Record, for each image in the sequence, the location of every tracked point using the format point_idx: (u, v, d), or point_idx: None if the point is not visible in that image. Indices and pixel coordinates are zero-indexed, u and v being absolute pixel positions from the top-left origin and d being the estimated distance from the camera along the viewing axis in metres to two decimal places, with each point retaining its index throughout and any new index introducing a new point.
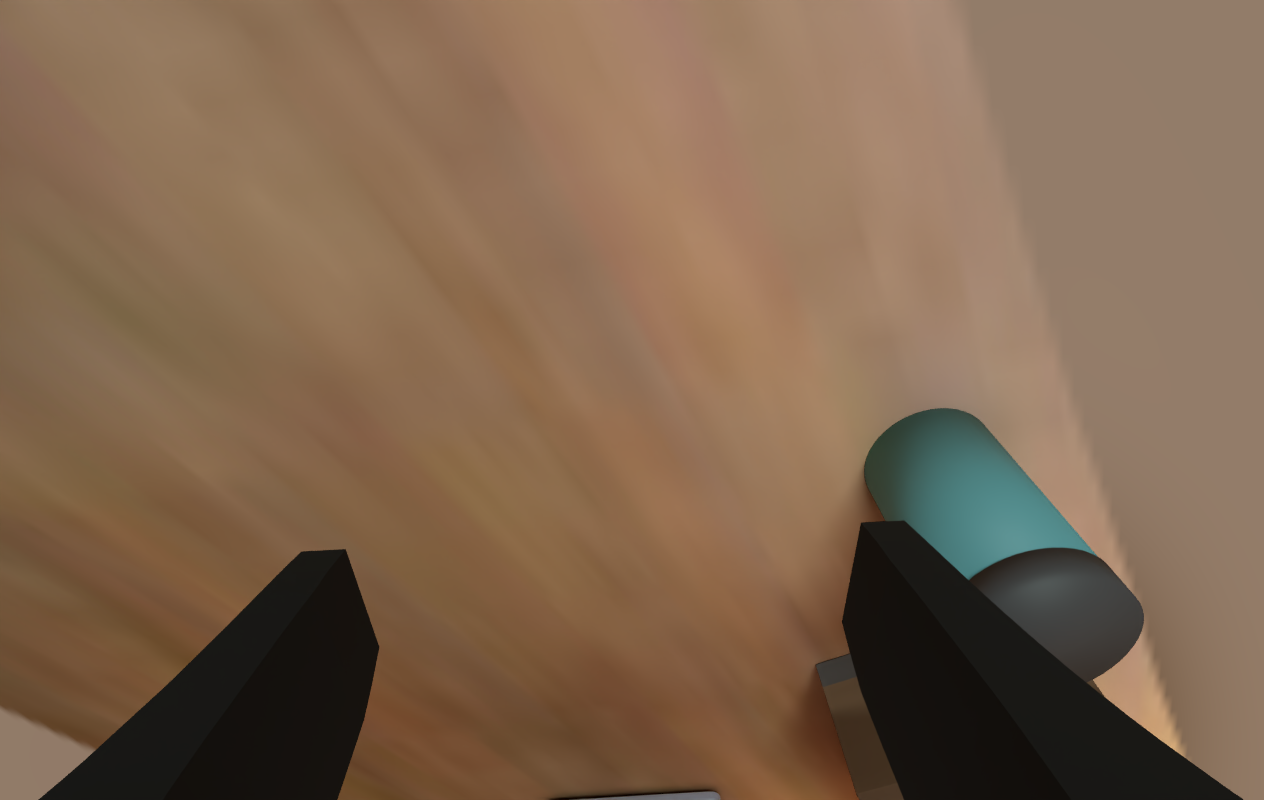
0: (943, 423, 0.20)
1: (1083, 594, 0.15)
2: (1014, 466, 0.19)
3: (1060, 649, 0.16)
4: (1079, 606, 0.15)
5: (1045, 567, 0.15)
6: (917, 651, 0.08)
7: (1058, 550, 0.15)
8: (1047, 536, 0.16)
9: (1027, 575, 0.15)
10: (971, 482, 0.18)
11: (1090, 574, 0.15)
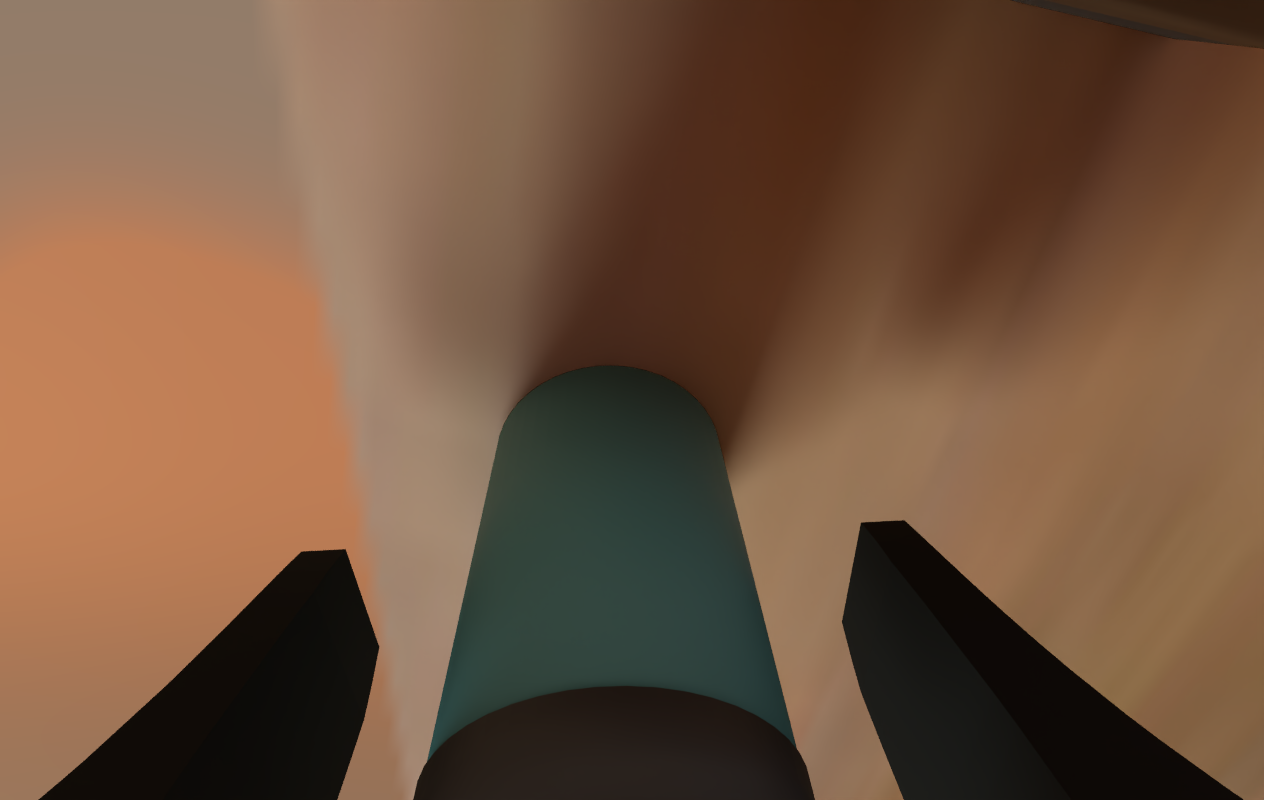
0: None
1: None
2: None
3: None
4: None
5: None
6: (917, 651, 0.08)
7: None
8: None
9: None
10: None
11: None
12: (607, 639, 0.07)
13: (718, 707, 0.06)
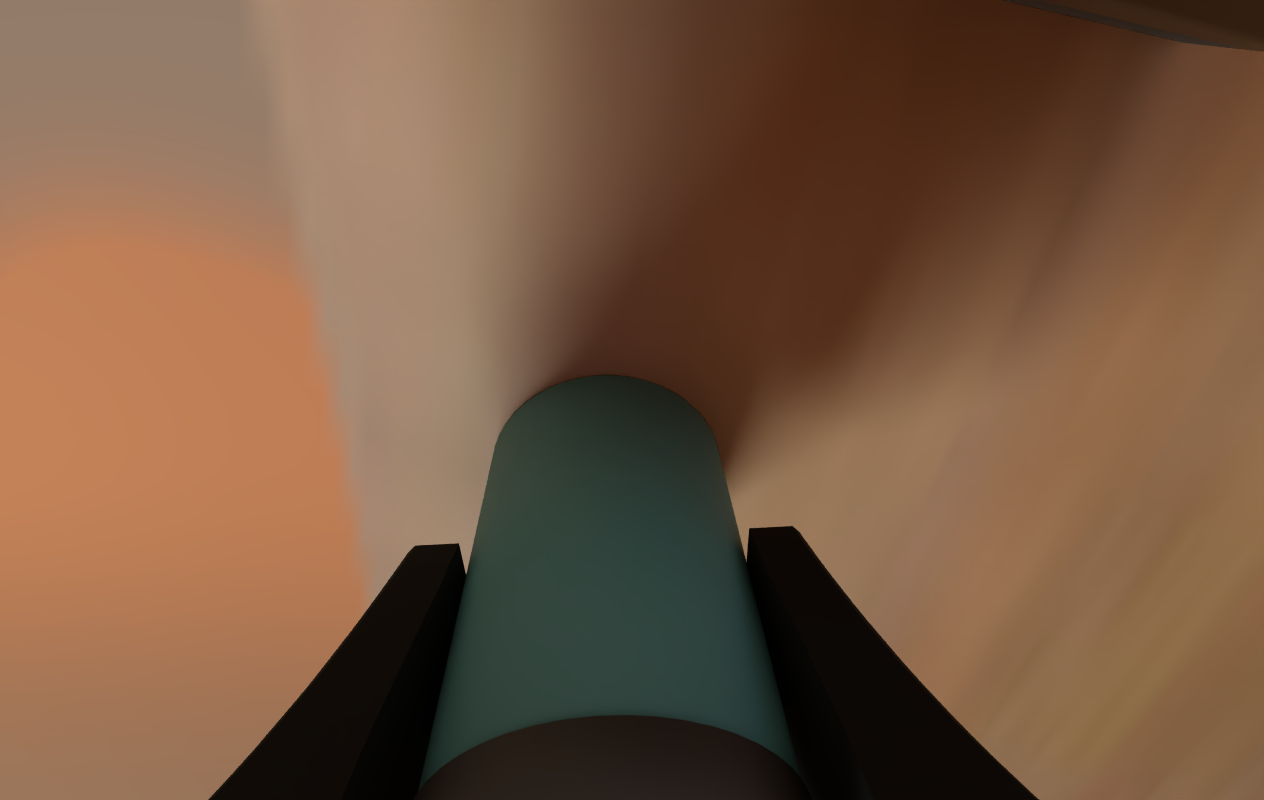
0: None
1: None
2: None
3: None
4: None
5: None
6: (785, 658, 0.08)
7: None
8: None
9: None
10: None
11: None
12: (604, 663, 0.06)
13: (719, 736, 0.06)
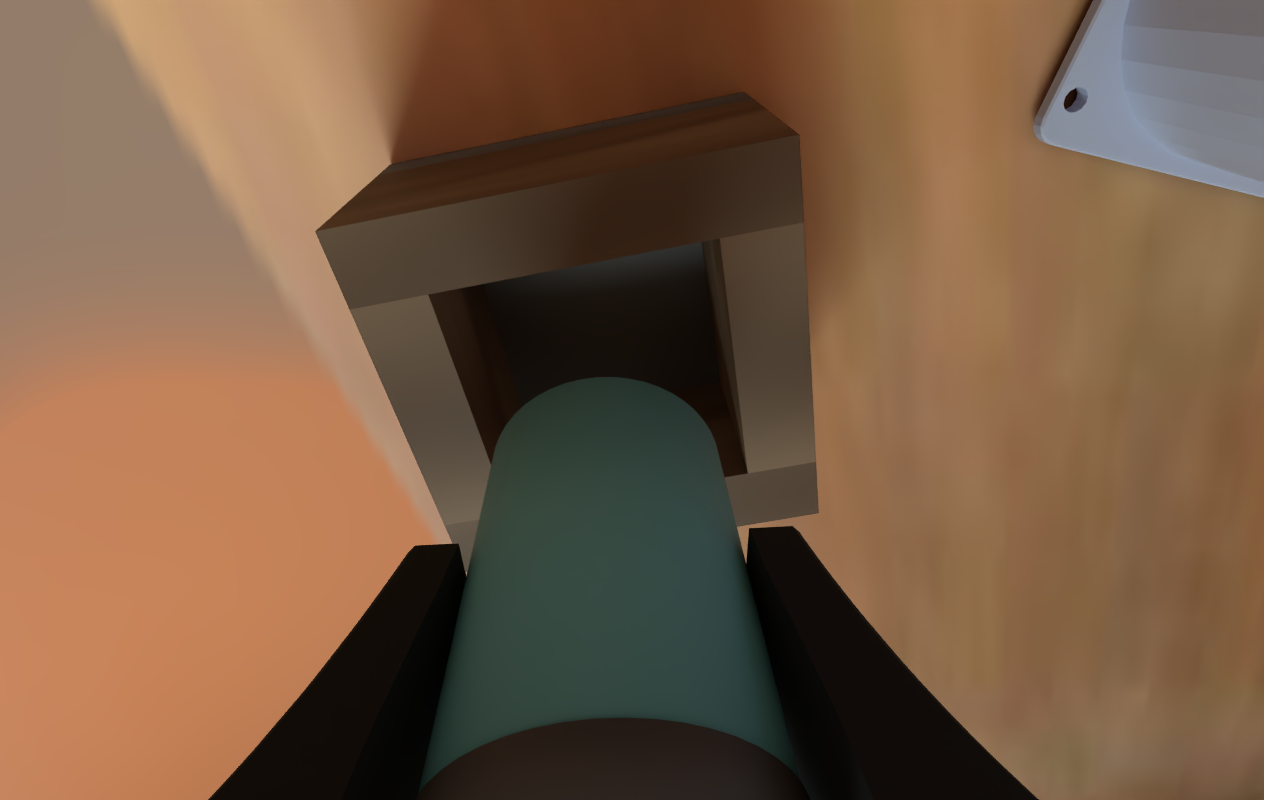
0: None
1: None
2: None
3: None
4: None
5: None
6: (785, 659, 0.08)
7: None
8: None
9: None
10: None
11: None
12: (604, 666, 0.06)
13: (719, 739, 0.06)
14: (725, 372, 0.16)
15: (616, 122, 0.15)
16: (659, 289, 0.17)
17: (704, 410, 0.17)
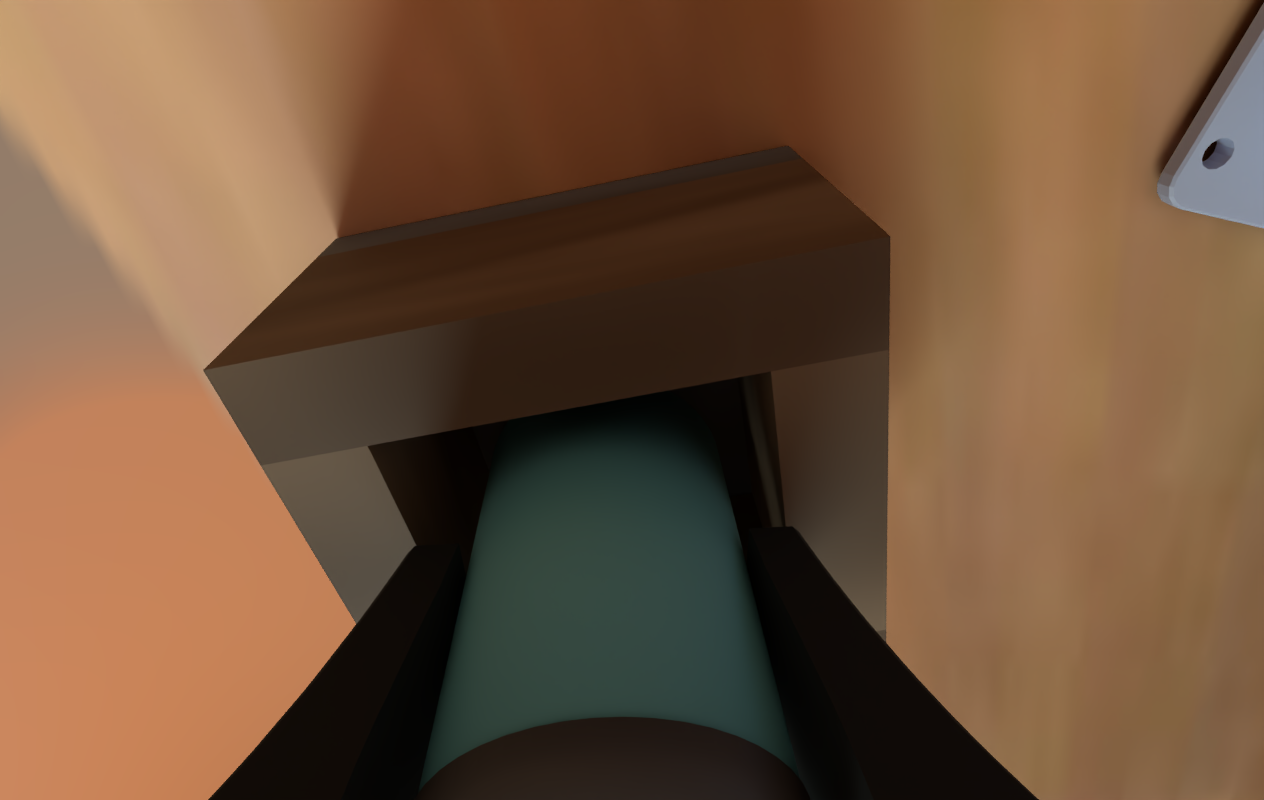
0: None
1: None
2: None
3: None
4: None
5: None
6: (785, 658, 0.08)
7: None
8: None
9: None
10: None
11: None
12: (604, 666, 0.06)
13: (719, 737, 0.06)
14: (763, 500, 0.13)
15: (624, 187, 0.12)
16: (678, 388, 0.13)
17: None
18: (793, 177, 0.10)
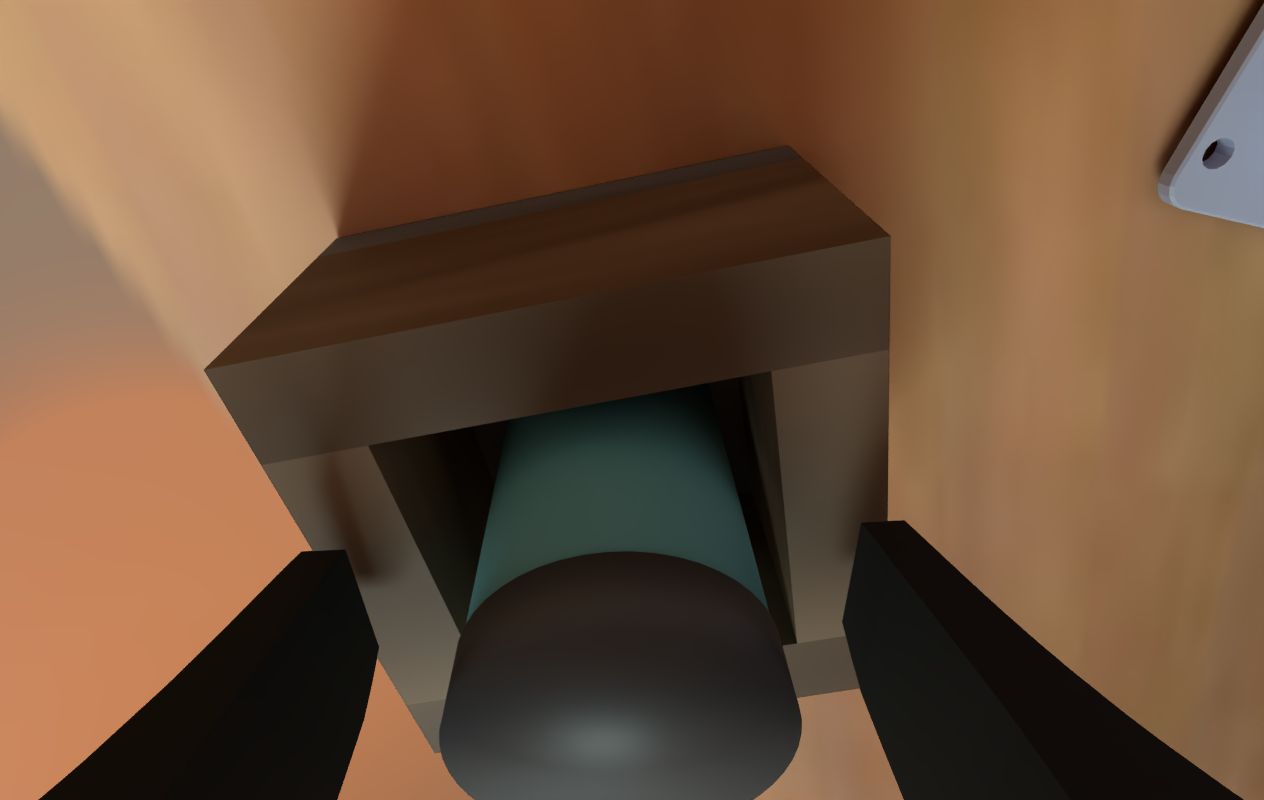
0: None
1: None
2: None
3: (611, 727, 0.08)
4: (545, 789, 0.08)
5: None
6: (917, 651, 0.08)
7: None
8: None
9: None
10: None
11: None
12: (615, 522, 0.08)
13: (705, 572, 0.08)
14: (764, 500, 0.13)
15: (624, 186, 0.12)
16: None
17: None
18: (793, 177, 0.10)
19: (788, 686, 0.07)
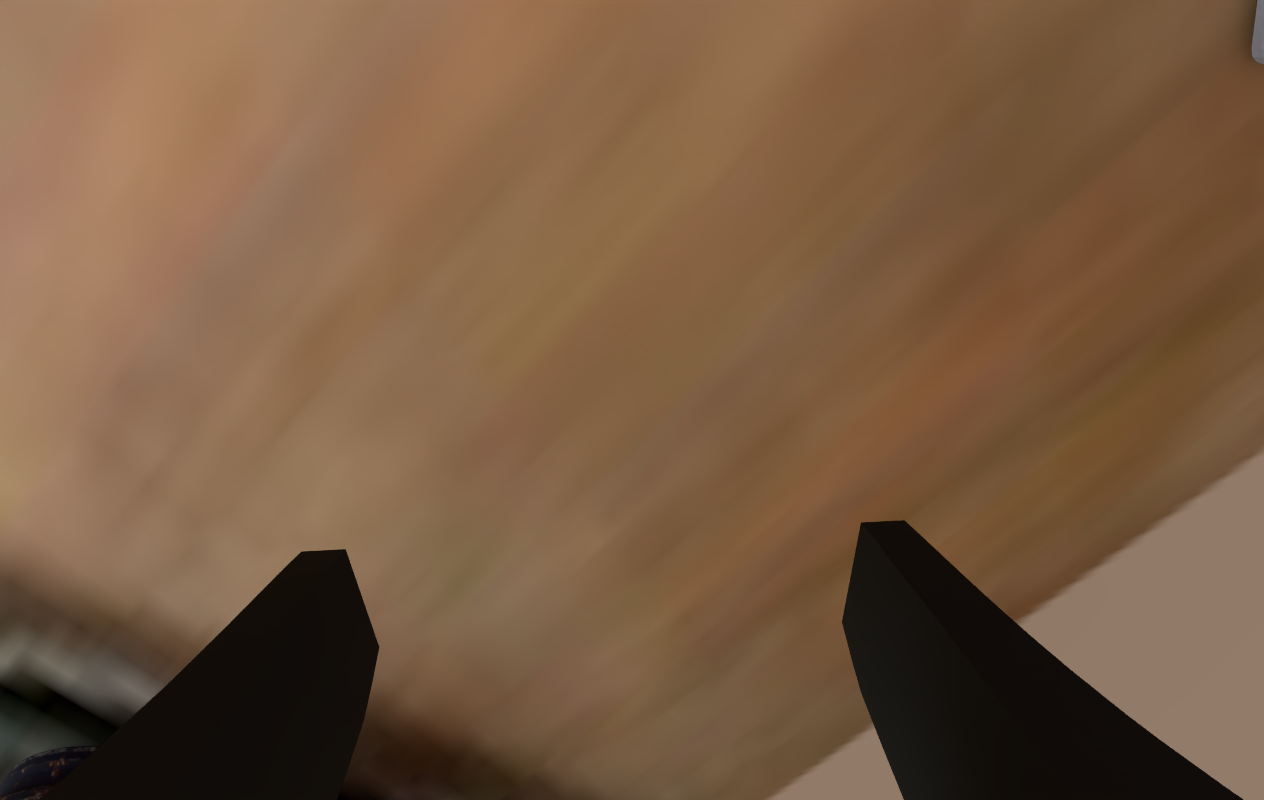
0: None
1: None
2: None
3: None
4: None
5: None
6: (917, 651, 0.08)
7: None
8: None
9: None
10: None
11: None
12: None
13: None
14: None
15: None
16: None
17: None
18: None
19: None
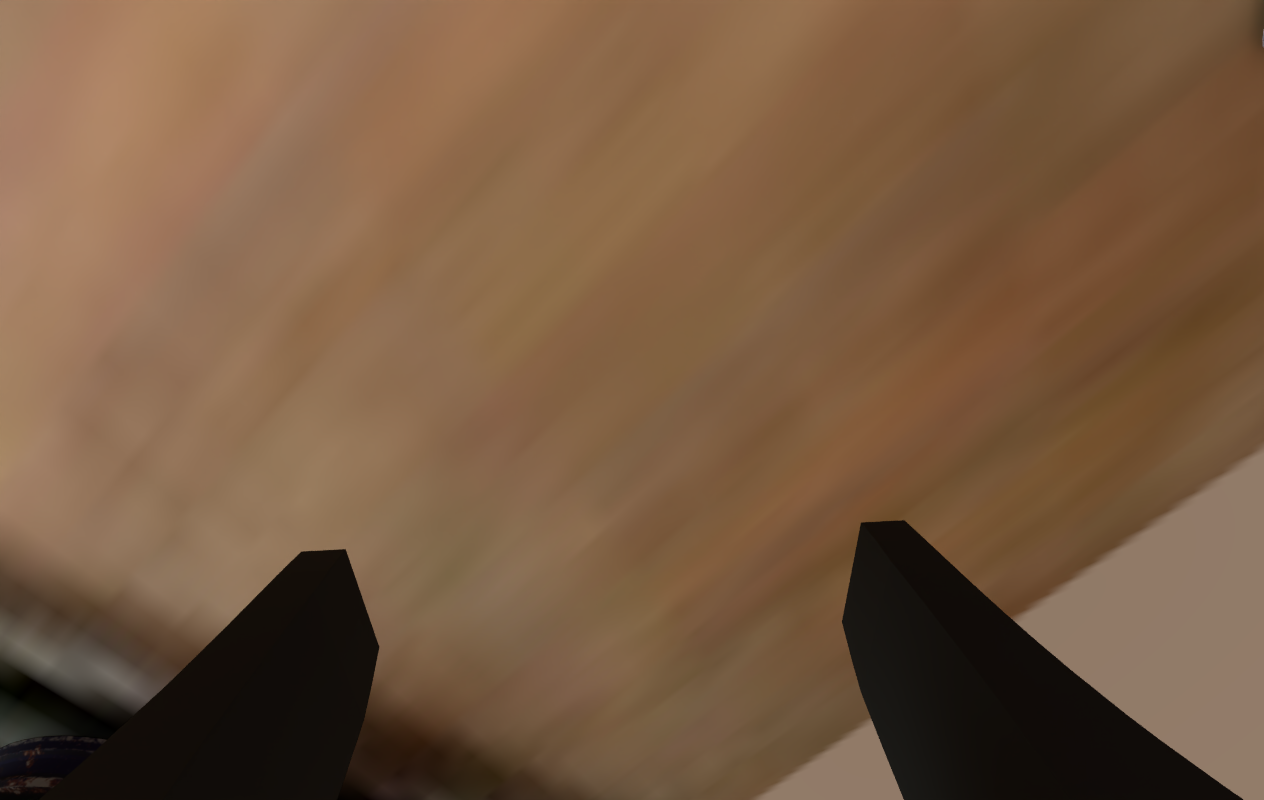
0: None
1: None
2: None
3: None
4: None
5: None
6: (918, 651, 0.08)
7: None
8: None
9: None
10: None
11: None
12: None
13: None
14: None
15: None
16: None
17: None
18: None
19: None
